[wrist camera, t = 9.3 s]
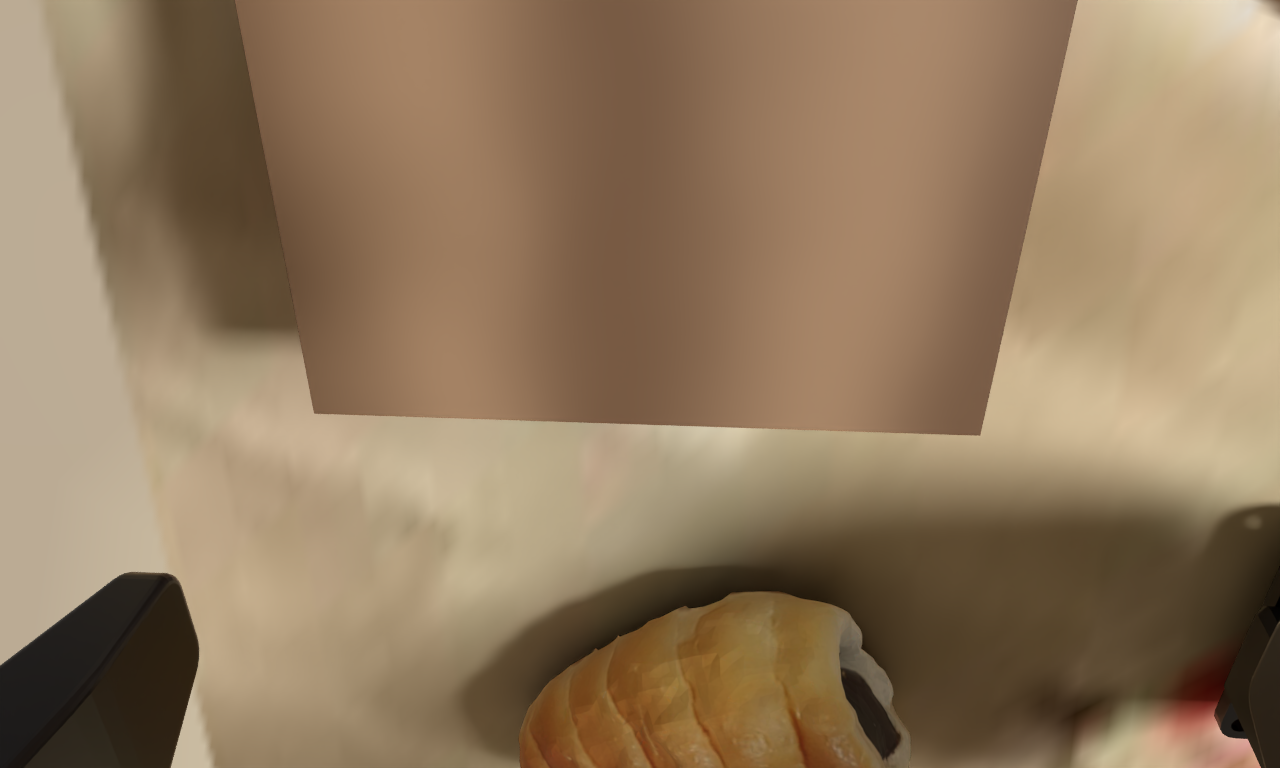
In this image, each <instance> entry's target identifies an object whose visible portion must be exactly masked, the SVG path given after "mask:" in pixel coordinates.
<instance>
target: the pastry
mask: <svg viewBox="0 0 1280 768" xmlns="http://www.w3.org/2000/svg"><path fill="white" fill-rule="evenodd" d="M861 645H862V633H861V630H860V628H859V627H858V626H857V624H856V623H855V622H854V620H853V619H852V618H851V616H850V614H849V613H848V612H847V611H845V610H843V609H841V608H839V607H837V606H834V605H832V604H828V603H823V602H819V601H814V600H807V599H801V598H798V597H795V596H793V595H790V594H786V593H783V592H780V591H760V592H736V593H735V592H731V593H730V594H729V595H728V596H726V597H725V598H724V599H722V600H720V601H718V602H715V603H713V604H710V605H707V606H704V607H698V608H688V607H686V606H683V607H681V608H678V609H676V610H674V611H672V612H670V613H668V614H666V615H664V616H662V617H660V618H656V619H653V620H650V621H649V622H647V623H646V624H645V625H644V626H643V627H641V628H640V629H638V630H636V631H633V632H630V633H628V634H625V635H622V636H620V637H619V635H618V636H617V638H616V639H615V640H614V641H613V642H611V643H610V644H609V645H607V646H605V647H603V648H601V649H599V650H597V648H595V650H594V651H593V652H592V653H591V654H589V655H587V656H585V657H584V658H582V659H580V660H579V661H577V662H575V663H573V664H572V665H570V666H569V667H568V668H567V669H566V670H564V671H563V672H562V673H561V674H559V675H558V676H556V677H555V678H554V679H552V680H551V681H549V682H548V684H547V685H546V686H545V687H544V688H543V690H542V691H541V693H540V694H539V695H538V697H537V698H536V699H535V701H534V702H533V703H532V704H531V705H530V706H529V708H528V710H527V713H526V715H525V718H524V720H523V723H522V726H521V729H520V733H519V738H518V740H519V744H520V767H521V768H909V761H910V758H911V736H910V733H909V732H908V730H907V729H906V727H905V726H904V724H903V722H902V721H901V720H900V718H899V717H898V716H897V714H896V712H895V710H894V707H893V703H892V697H893V695H894V692H893V687H892V684H891V682H890V680H889V678H888V676H887V674H886V672H885V670H884V669H882V668H881V667H879V666H878V665H877V663H876V662H875V660H874V659H873V658H872V657H871V656H870V655H869V654H867V653H866V652H865V651H864V650H862V649H861Z"/></svg>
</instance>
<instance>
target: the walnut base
mask: <svg viewBox="0 0 1280 768" xmlns="http://www.w3.org/2000/svg"><path fill="white" fill-rule="evenodd" d="M1077 1H1078V0H235V4H236V10H237V15H238V20H239V25H240V30H241V36H242V41H243V46H244V51H245V56H246V62H247V67H248V72H249V77H250V82H251V88H252V93H253V98H254V103H255V108H256V114H257V119H258V124H259V129H260V134H261V140H262V145H263V150H264V155H265V160H266V166H267V171H268V176H269V181H270V186H271V191H272V197H273V202H274V207H275V212H276V217H277V223H278V228H279V233H280V238H281V243H282V249H283V254H284V259H285V264H286V269H287V275H288V280H289V285H290V290H291V295H292V301H293V306H294V311H295V316H296V321H297V327H298V332H299V337H300V342H301V347H302V353H303V358H304V363H305V368H306V373H307V379H308V384H309V389H310V394H311V399H312V405H313V410H314V413H315V414H345V415H375V416H406V417H436V418H466V419H496V420H526V421H557V422H587V423H617V424H647V425H677V426H707V427H738V428H768V429H798V430H828V431H858V432H889V433H919V434H949V435H979V436H980V433H981V429H982V424H983V420H984V416H985V411H986V407H987V402H988V398H989V393H990V389H991V384H992V380H993V375H994V371H995V367H996V362H997V358H998V353H999V349H1000V344H1001V340H1002V335H1003V331H1004V326H1005V322H1006V317H1007V313H1008V309H1009V304H1010V300H1011V295H1012V291H1013V286H1014V282H1015V277H1016V273H1017V268H1018V264H1019V260H1020V255H1021V251H1022V246H1023V242H1024V237H1025V233H1026V228H1027V224H1028V219H1029V215H1030V211H1031V206H1032V202H1033V197H1034V193H1035V188H1036V184H1037V179H1038V175H1039V170H1040V166H1041V161H1042V157H1043V153H1044V148H1045V144H1046V139H1047V135H1048V130H1049V126H1050V121H1051V117H1052V112H1053V108H1054V104H1055V99H1056V95H1057V90H1058V86H1059V81H1060V77H1061V72H1062V68H1063V63H1064V59H1065V54H1066V50H1067V46H1068V41H1069V37H1070V32H1071V28H1072V23H1073V19H1074V14H1075V10H1076V5H1077Z"/></svg>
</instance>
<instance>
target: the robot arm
mask: <svg viewBox="0 0 1280 768" xmlns="http://www.w3.org/2000/svg"><path fill="white" fill-rule="evenodd" d="M198 661H199V644H198V639H197V635H196V632H195V629H194V625H193V622H192V619H191V616H190V612H189V609H188V606H187V603H186V599H185V596H184V593H183V590H182V587H181V585H180V582H179V581H178V580H177V578H176V577H175V576H173V575H171V574H168V573H145V572H129V573H124V574H122V575H120V576H118V577H117V578H115V579H114V580H112V581H111V582H110V583H108V584H107V585H106V586H104V587H103V588H102V589H100V590H99V591H98V592H96V593H95V594H94V595H93V596H91V597H90V598H89V599H87V600H86V601H85V602H83V603H82V604H81V605H79V606H78V607H77V608H75V609H74V610H73V611H71V612H70V613H69V614H67V615H66V616H65V617H64V618H62V619H61V620H60V621H58V622H57V623H56V624H54V625H53V626H52V627H50V628H49V629H48V630H47V631H45V632H44V633H42V634H41V635H40V636H38V637H37V638H36V639H35V640H34V641H32V642H31V643H29V644H28V645H27V646H25V647H24V648H23V649H21V650H20V651H19V652H17V653H16V654H15V655H13V656H12V657H11V658H10V659H8V660H7V661H6V662H4V663H3V664H2V665H0V768H171V764H172V760H173V757H174V753H175V749H176V745H177V742H178V738H179V735H180V731H181V727H182V724H183V720H184V716H185V712H186V708H187V705H188V701H189V698H190V694H191V690H192V687H193V683H194V679H195V676H196V672H197V667H198ZM1224 688H1225V689H1224V691H1223V694H1222V696H1221V698H1220V700H1219V702H1218V705H1217V707H1216V709H1215V714H1214V716H1215V719H1216V721H1217V723H1218V725H1219V728H1220V730H1221V731H1222V733H1223V734H1224V735H1226V736H1228V737H1231V738H1241V739H1248V740H1249V742H1250V745H1251V747H1252V749H1253V751H1254V753H1255V755H1256V758H1257V760H1258V762H1259V764H1260V766H1261V768H1280V567H1279V569H1278V571H1277V574H1276V576H1275V578H1274V580H1273V583H1272V585H1271V587H1270V589H1269V591H1268V594H1267V596H1266V598H1265V600H1264V603H1263V605H1262V607H1261V609H1260V611H1259V612H1258V613H1257V614H1256V615H1255V617H1254V619H1253V622H1252V624H1251V626H1250V628H1249V630H1248V633H1247V635H1246V637H1245V639H1244V642H1243V644H1242V646H1241V648H1240V651H1239V653H1238V655H1237V657H1236V659H1235V662H1234V664H1233V666H1232V668H1231V671H1230V673H1229V675H1228V677H1227V680H1226V682H1225V685H1224Z"/></svg>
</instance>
